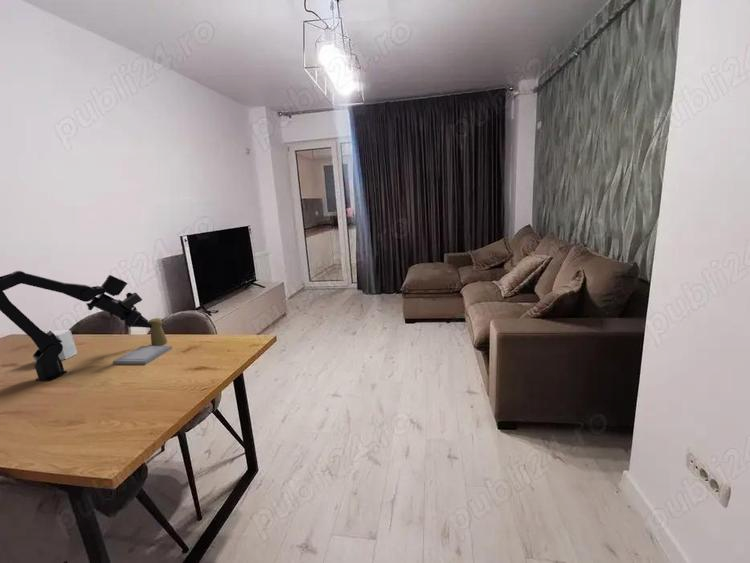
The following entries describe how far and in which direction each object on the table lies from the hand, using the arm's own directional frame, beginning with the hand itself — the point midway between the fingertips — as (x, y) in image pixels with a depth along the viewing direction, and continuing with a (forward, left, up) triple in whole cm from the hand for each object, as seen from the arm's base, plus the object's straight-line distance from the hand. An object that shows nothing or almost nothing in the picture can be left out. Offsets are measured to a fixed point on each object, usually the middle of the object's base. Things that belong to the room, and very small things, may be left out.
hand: (149, 324), depth 152 cm
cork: (+2, -1, -9) cm, 10 cm away
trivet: (-10, -4, -9) cm, 15 cm away
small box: (-11, +33, -10) cm, 36 cm away
